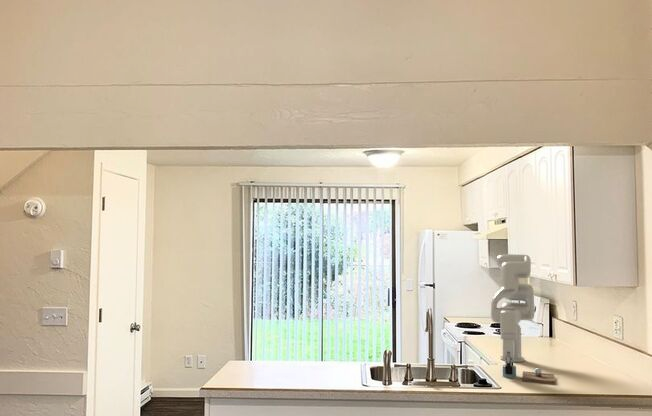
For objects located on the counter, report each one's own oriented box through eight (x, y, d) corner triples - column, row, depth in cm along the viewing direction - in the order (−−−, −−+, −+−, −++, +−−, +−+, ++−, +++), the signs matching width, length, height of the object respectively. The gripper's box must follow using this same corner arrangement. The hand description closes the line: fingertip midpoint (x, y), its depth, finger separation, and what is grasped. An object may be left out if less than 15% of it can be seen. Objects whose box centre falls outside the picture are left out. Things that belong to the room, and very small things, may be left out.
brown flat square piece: (522, 374, 251) (522, 371, 251) (554, 377, 246) (553, 374, 246) (522, 381, 238) (522, 378, 238) (555, 384, 233) (555, 381, 233)
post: (535, 375, 244) (535, 367, 244) (541, 375, 243) (541, 368, 243) (535, 376, 241) (535, 369, 241) (541, 377, 240) (541, 369, 240)
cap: (503, 374, 251) (503, 364, 251) (516, 375, 248) (516, 365, 249) (502, 377, 245) (502, 366, 245) (515, 378, 243) (515, 368, 243)
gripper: (501, 332, 257) (502, 367, 256) (499, 338, 241) (500, 375, 240) (517, 334, 254) (518, 369, 253) (516, 339, 238) (517, 376, 237)
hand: (509, 372), depth 246 cm, fingers open, 9 cm apart
